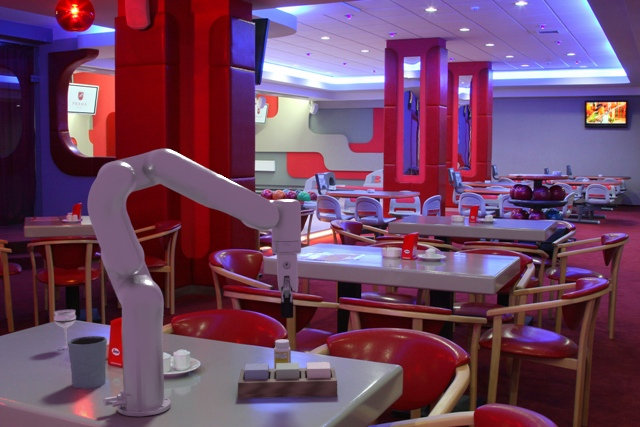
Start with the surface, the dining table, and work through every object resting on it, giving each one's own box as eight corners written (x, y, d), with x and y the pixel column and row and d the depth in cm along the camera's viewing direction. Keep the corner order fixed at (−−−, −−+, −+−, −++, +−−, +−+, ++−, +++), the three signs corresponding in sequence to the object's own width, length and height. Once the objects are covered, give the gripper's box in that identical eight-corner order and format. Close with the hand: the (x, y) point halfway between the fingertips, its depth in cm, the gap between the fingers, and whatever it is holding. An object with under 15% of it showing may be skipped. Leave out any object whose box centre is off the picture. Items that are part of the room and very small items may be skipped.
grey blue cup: (81, 391, 187) (79, 346, 187) (61, 384, 194) (60, 340, 193) (115, 383, 195) (114, 339, 194) (95, 375, 202) (94, 333, 201)
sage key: (276, 383, 184) (275, 369, 184) (276, 376, 190) (276, 363, 190) (299, 382, 184) (299, 369, 184) (299, 375, 190) (299, 362, 190)
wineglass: (71, 344, 238) (70, 308, 237) (80, 348, 233) (79, 311, 232) (51, 348, 233) (50, 311, 232) (60, 351, 228) (58, 314, 227)
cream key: (307, 382, 184) (307, 368, 184) (306, 375, 190) (306, 362, 190) (330, 381, 185) (330, 368, 184) (329, 375, 191) (329, 362, 190)
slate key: (244, 383, 184) (244, 370, 184) (246, 376, 190) (245, 363, 190) (268, 383, 184) (268, 369, 184) (268, 376, 190) (268, 363, 190)
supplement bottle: (282, 366, 209) (281, 338, 209) (294, 369, 206) (294, 340, 206) (270, 370, 206) (270, 341, 205) (283, 373, 203) (282, 343, 202)
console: (238, 398, 181) (237, 382, 181) (241, 383, 193) (241, 369, 193) (337, 396, 182) (337, 380, 182) (334, 381, 194) (334, 367, 194)
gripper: (301, 251, 177) (302, 321, 178) (300, 243, 194) (300, 307, 195) (271, 251, 176) (271, 321, 177) (272, 243, 194) (273, 307, 195)
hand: (287, 313), depth 186 cm, fingers open, 8 cm apart
